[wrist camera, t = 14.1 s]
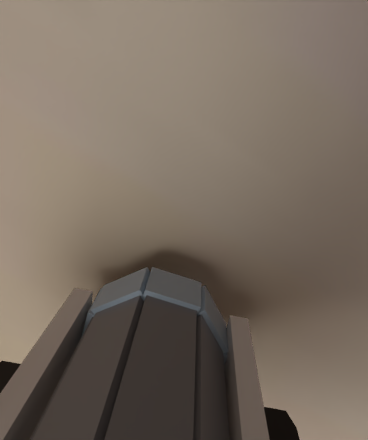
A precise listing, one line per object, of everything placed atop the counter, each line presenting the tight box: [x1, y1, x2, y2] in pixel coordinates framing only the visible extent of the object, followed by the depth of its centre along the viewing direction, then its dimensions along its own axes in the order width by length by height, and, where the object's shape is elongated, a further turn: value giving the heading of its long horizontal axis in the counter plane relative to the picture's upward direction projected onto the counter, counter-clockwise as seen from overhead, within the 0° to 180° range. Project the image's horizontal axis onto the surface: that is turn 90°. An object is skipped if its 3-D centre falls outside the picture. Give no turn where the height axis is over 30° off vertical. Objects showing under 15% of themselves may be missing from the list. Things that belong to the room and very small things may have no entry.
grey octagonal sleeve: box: [30, 267, 230, 440], centre depth 10 cm, size 6×6×7 cm
